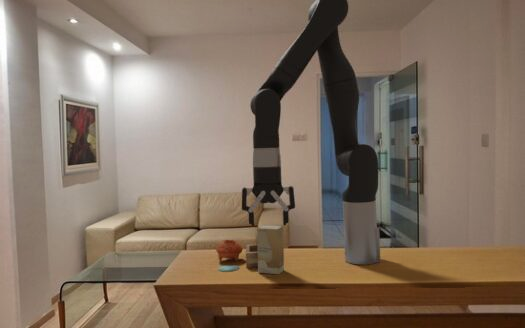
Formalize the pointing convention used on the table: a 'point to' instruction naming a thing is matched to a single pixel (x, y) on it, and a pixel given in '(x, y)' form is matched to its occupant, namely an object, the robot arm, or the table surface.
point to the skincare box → (270, 249)
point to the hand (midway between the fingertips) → (268, 225)
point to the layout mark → (228, 268)
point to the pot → (229, 250)
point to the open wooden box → (251, 256)
